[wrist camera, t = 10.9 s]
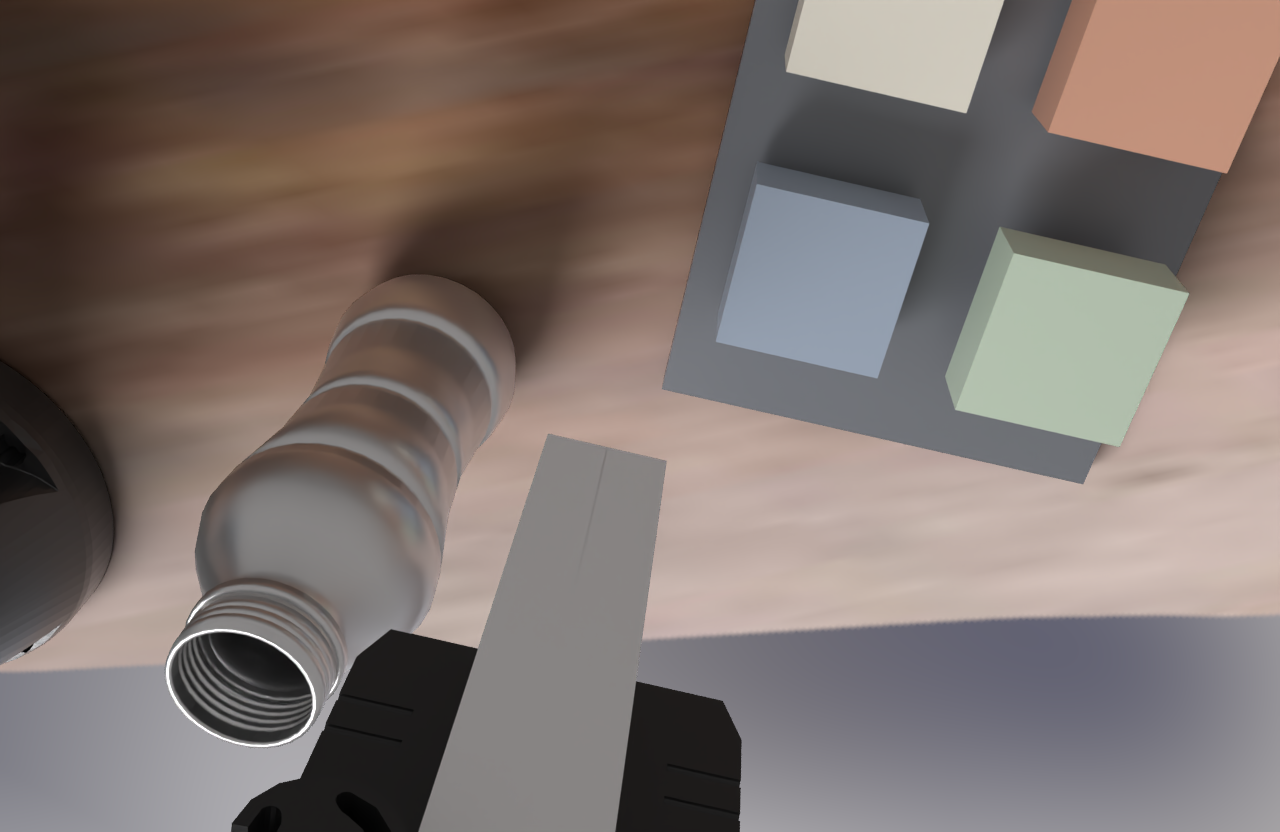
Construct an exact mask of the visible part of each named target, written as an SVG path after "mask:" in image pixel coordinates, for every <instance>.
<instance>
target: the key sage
mask: <svg viewBox="0 0 1280 832" xmlns="http://www.w3.org/2000/svg"><path fill="white" fill-rule="evenodd" d="M1189 294H1190V293H1189V292H1188V291H1187V290H1186V289H1185V287H1184V286H1183V285H1182V284H1181V283H1180V281H1179V280H1178V279H1177V278H1176V277H1175V275H1174V274H1173V273H1172V272H1171V271H1170V269H1169V268H1168V267H1167V266H1166V265H1165V264H1161V263H1156V262H1152V261H1148V260H1143V259H1139V258H1135V257H1130V256H1126V255H1122V254H1117V253H1113V252H1108V251H1104V250H1100V249H1095V248H1091V247H1087V246H1082V245H1078V244H1074V243H1069V242H1065V241H1060V240H1056V239H1052V238H1047V237H1043V236H1039V235H1034V234H1030V233H1026V232H1021V231H1017V230H1013V229H1008V228H1004V227H999V230H998V232H997V235H996V238H995V241H994V243H993V246H992V249H991V252H990V254H989V257H988V260H987V263H986V265H985V268H984V271H983V273H982V276H981V279H980V282H979V284H978V287H977V290H976V293H975V295H974V298H973V301H972V304H971V306H970V309H969V312H968V315H967V317H966V320H965V323H964V326H963V328H962V331H961V334H960V337H959V339H958V342H957V345H956V348H955V350H954V353H953V356H952V358H951V361H950V364H949V367H948V369H947V372H946V375H945V378H946V382H947V385H948V388H949V391H950V395H951V398H952V401H953V404H954V408H955V410H958V411H963V412H967V413H971V414H976V415H980V416H985V417H989V418H994V419H998V420H1002V421H1007V422H1011V423H1016V424H1020V425H1024V426H1029V427H1033V428H1038V429H1042V430H1046V431H1051V432H1055V433H1060V434H1064V435H1069V436H1073V437H1077V438H1082V439H1086V440H1091V441H1095V442H1099V443H1104V444H1108V445H1113V446H1117V447H1120V445H1121V443H1122V441H1123V438H1124V436H1125V434H1126V432H1127V430H1128V427H1129V425H1130V423H1131V421H1132V419H1133V416H1134V414H1135V412H1136V410H1137V408H1138V406H1139V403H1140V401H1141V399H1142V397H1143V395H1144V392H1145V390H1146V388H1147V386H1148V384H1149V381H1150V379H1151V377H1152V375H1153V373H1154V370H1155V368H1156V366H1157V364H1158V362H1159V359H1160V357H1161V355H1162V353H1163V351H1164V348H1165V346H1166V344H1167V342H1168V340H1169V337H1170V335H1171V333H1172V331H1173V329H1174V326H1175V324H1176V322H1177V320H1178V318H1179V315H1180V313H1181V311H1182V309H1183V307H1184V305H1185V302H1186V300H1187V298H1188V296H1189Z"/></svg>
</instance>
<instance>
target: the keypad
mask: <svg viewBox="0 0 1280 832" xmlns="http://www.w3.org/2000/svg"><path fill="white" fill-rule="evenodd" d="M798 1H799V0H755V3H754V7H753V11H752V15H751V19H750V23H749V27H748V32H747V36H746V40H745V44H744V48H743V52H742V56H741V61H740V65H739V69H738V73H737V77H736V81H735V85H734V90H733V94H732V98H731V102H730V106H729V110H728V114H727V119H726V123H725V127H724V131H723V135H722V139H721V143H720V148H719V152H718V156H717V160H716V164H715V168H714V172H713V177H712V181H711V185H710V189H709V193H708V197H707V201H706V206H705V210H704V214H703V218H702V222H701V226H700V230H699V235H698V239H697V243H696V247H695V251H694V255H693V259H692V264H691V268H690V272H689V276H688V280H687V284H686V288H685V293H684V297H683V301H682V305H681V309H680V313H679V317H678V322H677V326H676V330H675V334H674V338H673V342H672V346H671V351H670V355H669V359H668V363H667V367H666V371H665V375H664V381H663V387H662V389H664V390H668V391H672V392H677V393H681V394H686V395H690V396H695V397H699V398H703V399H708V400H712V401H717V402H721V403H726V404H730V405H734V406H739V407H743V408H748V409H752V410H757V411H761V412H765V413H770V414H774V415H779V416H783V417H788V418H792V419H796V420H801V421H805V422H810V423H814V424H819V425H823V426H827V427H832V428H836V429H841V430H845V431H850V432H854V433H858V434H863V435H867V436H872V437H876V438H881V439H885V440H889V441H894V442H898V443H903V444H907V445H911V446H916V447H920V448H925V449H929V450H934V451H938V452H942V453H947V454H951V455H956V456H960V457H965V458H969V459H973V460H978V461H982V462H987V463H991V464H996V465H1000V466H1004V467H1009V468H1013V469H1018V470H1022V471H1027V472H1031V473H1035V474H1040V475H1044V476H1049V477H1053V478H1058V479H1062V480H1066V481H1071V482H1075V483H1080V484H1083V483H1084V481H1085V479H1086V477H1087V474H1088V472H1089V470H1090V468H1091V465H1092V463H1093V461H1094V459H1095V456H1096V454H1097V452H1098V450H1099V448H1100V445H1101V443H1099V442H1095V441H1091V440H1086V439H1082V438H1077V437H1073V436H1069V435H1064V434H1060V433H1055V432H1051V431H1046V430H1042V429H1038V428H1033V427H1029V426H1024V425H1020V424H1016V423H1011V422H1007V421H1002V420H998V419H994V418H989V417H985V416H980V415H976V414H971V413H967V412H963V411H958V410H955V408H954V404H953V401H952V398H951V395H950V391H949V388H948V385H947V382H946V378H945V375H946V372H947V369H948V367H949V364H950V361H951V358H952V356H953V353H954V350H955V348H956V345H957V342H958V339H959V337H960V334H961V331H962V328H963V326H964V323H965V320H966V317H967V315H968V312H969V309H970V306H971V304H972V301H973V298H974V295H975V293H976V290H977V287H978V284H979V282H980V279H981V276H982V273H983V271H984V268H985V265H986V263H987V260H988V257H989V254H990V252H991V249H992V246H993V243H994V241H995V238H996V235H997V232H998V230H999V227H1004V228H1008V229H1013V230H1017V231H1021V232H1026V233H1030V234H1034V235H1039V236H1043V237H1047V238H1052V239H1056V240H1060V241H1065V242H1069V243H1074V244H1078V245H1082V246H1087V247H1091V248H1095V249H1100V250H1104V251H1108V252H1113V253H1117V254H1122V255H1126V256H1130V257H1135V258H1139V259H1143V260H1148V261H1152V262H1156V263H1161V264H1165V265H1166V266H1167V267H1168V268H1169V269H1170V271H1171V272H1172V273H1173V274H1174V275H1175V277H1176V275H1177V273H1178V271H1179V268H1180V266H1181V264H1182V262H1183V259H1184V257H1185V255H1186V253H1187V250H1188V248H1189V246H1190V244H1191V241H1192V239H1193V237H1194V235H1195V233H1196V230H1197V228H1198V226H1199V224H1200V221H1201V219H1202V217H1203V215H1204V212H1205V210H1206V208H1207V206H1208V203H1209V201H1210V199H1211V197H1212V194H1213V192H1214V190H1215V188H1216V186H1217V183H1218V181H1219V179H1220V177H1221V174H1222V172H1218V171H1214V170H1209V169H1205V168H1201V167H1196V166H1192V165H1188V164H1183V163H1179V162H1175V161H1170V160H1166V159H1162V158H1157V157H1153V156H1149V155H1144V154H1140V153H1136V152H1131V151H1127V150H1123V149H1118V148H1114V147H1110V146H1105V145H1101V144H1097V143H1092V142H1088V141H1084V140H1079V139H1075V138H1071V137H1066V136H1062V135H1058V134H1053V133H1049V132H1047V130H1046V129H1045V128H1044V127H1043V125H1042V124H1041V123H1040V122H1039V121H1038V119H1037V118H1036V117H1035V116H1034V114H1033V113H1032V110H1033V107H1034V104H1035V101H1036V99H1037V96H1038V93H1039V90H1040V87H1041V85H1042V82H1043V79H1044V76H1045V74H1046V71H1047V68H1048V65H1049V62H1050V60H1051V57H1052V54H1053V51H1054V49H1055V46H1056V43H1057V40H1058V38H1059V35H1060V32H1061V29H1062V26H1063V24H1064V21H1065V18H1066V15H1067V13H1068V10H1069V7H1070V4H1071V2H1072V0H1004V3H1003V6H1002V8H1001V11H1000V14H999V17H998V20H997V23H996V26H995V29H994V32H993V35H992V38H991V41H990V44H989V47H988V50H987V53H986V56H985V59H984V62H983V65H982V68H981V71H980V74H979V77H978V80H977V83H976V86H975V89H974V92H973V95H972V98H971V101H970V104H969V107H968V110H967V113H962V112H958V111H954V110H949V109H945V108H941V107H936V106H932V105H928V104H923V103H919V102H915V101H910V100H906V99H902V98H897V97H893V96H889V95H884V94H880V93H876V92H871V91H867V90H863V89H858V88H854V87H850V86H845V85H841V84H837V83H832V82H828V81H824V80H819V79H815V78H811V77H806V76H802V75H798V74H793V73H789V72H786V66H785V51H786V48H787V44H788V40H789V36H790V32H791V28H792V24H793V20H794V17H795V13H796V9H797V5H798ZM757 162H761V163H765V164H769V165H774V166H778V167H782V168H787V169H791V170H796V171H800V172H804V173H809V174H813V175H817V176H822V177H826V178H830V179H835V180H839V181H843V182H848V183H852V184H857V185H861V186H865V187H870V188H874V189H878V190H883V191H887V192H891V193H896V194H900V195H905V196H909V197H913V198H918V199H920V200H921V203H922V205H923V208H924V211H925V213H926V216H927V219H928V221H929V226H928V229H927V232H926V235H925V238H924V241H923V244H922V247H921V250H920V253H919V256H918V259H917V262H916V265H915V268H914V271H913V274H912V277H911V280H910V283H909V286H908V289H907V292H906V295H905V298H904V301H903V304H902V307H901V310H900V313H899V316H898V319H897V322H896V325H895V327H894V330H893V333H892V336H891V339H890V342H889V345H888V348H887V351H886V354H885V357H884V360H883V363H882V366H881V369H880V372H879V375H878V378H873V377H869V376H864V375H860V374H855V373H851V372H847V371H842V370H838V369H833V368H829V367H824V366H820V365H816V364H811V363H807V362H802V361H798V360H794V359H789V358H785V357H780V356H776V355H772V354H767V353H763V352H758V351H754V350H750V349H745V348H741V347H736V346H732V345H727V344H723V343H719V342H716V332H717V320H718V311H719V307H720V304H721V300H722V296H723V292H724V288H725V284H726V280H727V276H728V273H729V269H730V265H731V261H732V257H733V253H734V249H735V245H736V241H737V238H738V234H739V230H740V226H741V222H742V218H743V214H744V210H745V207H746V203H747V199H748V195H749V191H750V187H751V183H752V179H753V176H754V172H755V168H756V164H757Z"/></svg>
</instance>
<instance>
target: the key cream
mask: <svg viewBox="0 0 1280 832" xmlns="http://www.w3.org/2000/svg"><path fill="white" fill-rule="evenodd" d="M1003 3H1004V0H799V1H798V5H797V9H796V13H795V17H794V20H793V24H792V28H791V32H790V36H789V40H788V44H787V48H786V51H785V66H786V72H789V73H793V74H798V75H802V76H806V77H811V78H815V79H819V80H824V81H828V82H832V83H837V84H841V85H845V86H850V87H854V88H858V89H863V90H867V91H871V92H876V93H880V94H884V95H889V96H893V97H897V98H902V99H906V100H910V101H915V102H919V103H923V104H928V105H932V106H936V107H941V108H945V109H949V110H954V111H958V112H962V113H967V110H968V107H969V104H970V101H971V98H972V95H973V92H974V89H975V86H976V83H977V80H978V77H979V74H980V71H981V68H982V65H983V62H984V59H985V56H986V53H987V50H988V47H989V44H990V41H991V38H992V35H993V32H994V29H995V26H996V23H997V20H998V17H999V14H1000V11H1001V8H1002V6H1003Z"/></svg>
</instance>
